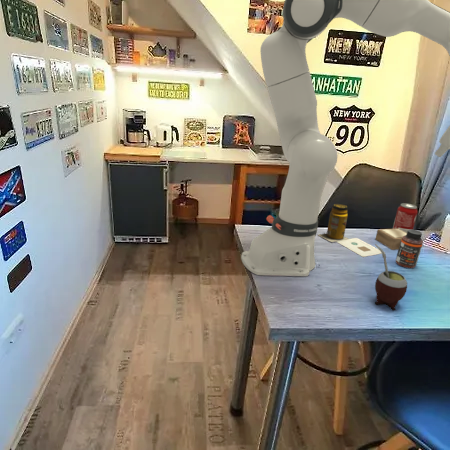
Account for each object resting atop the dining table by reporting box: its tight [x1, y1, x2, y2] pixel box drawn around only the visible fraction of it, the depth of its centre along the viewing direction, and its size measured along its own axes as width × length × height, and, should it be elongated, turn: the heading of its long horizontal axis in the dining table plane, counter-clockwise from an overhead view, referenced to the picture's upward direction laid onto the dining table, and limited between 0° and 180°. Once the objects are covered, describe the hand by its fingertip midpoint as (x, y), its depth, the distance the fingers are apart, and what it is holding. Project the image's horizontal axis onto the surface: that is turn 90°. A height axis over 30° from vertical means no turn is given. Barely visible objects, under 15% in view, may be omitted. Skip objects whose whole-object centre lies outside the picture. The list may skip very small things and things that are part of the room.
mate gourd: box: [374, 243, 408, 312], centre depth 86 cm, size 8×8×15 cm
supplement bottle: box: [395, 228, 424, 269], centre depth 109 cm, size 6×6×11 cm
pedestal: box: [374, 228, 407, 251], centre depth 125 cm, size 9×9×4 cm
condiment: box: [318, 203, 350, 243], centre depth 126 cm, size 7×8×12 cm
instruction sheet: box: [335, 237, 386, 258], centre depth 121 cm, size 10×13×1 cm
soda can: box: [392, 202, 418, 233], centre depth 133 cm, size 7×7×12 cm
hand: (444, 149), depth 95 cm, fingers open, 8 cm apart
